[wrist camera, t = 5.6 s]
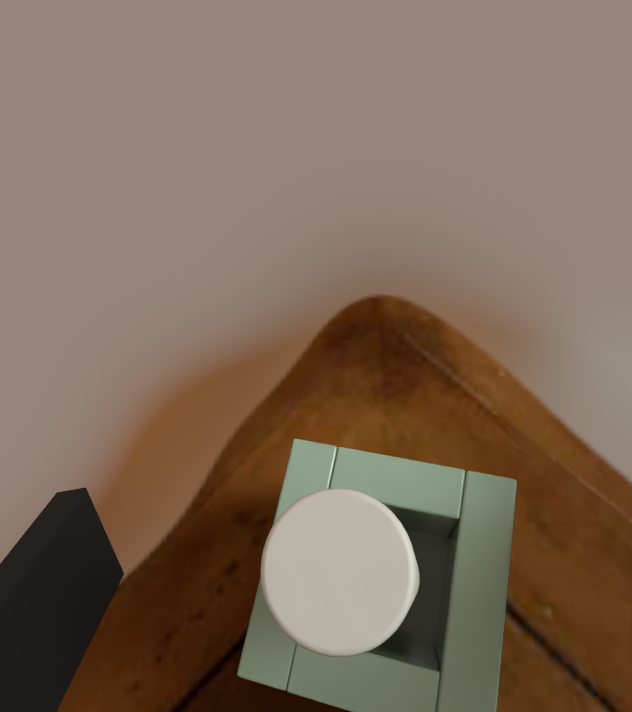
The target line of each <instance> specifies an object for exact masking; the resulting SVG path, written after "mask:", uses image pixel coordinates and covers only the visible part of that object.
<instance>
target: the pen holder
mask: <svg viewBox="0 0 632 712" xmlns="http://www.w3.org/2000/svg"><path fill="white" fill-rule="evenodd" d="M331 488H344V489H352V490H356V491H359V492H362V493H365V494H367V495H369V496H371V497H373V498H375V499H377V500H378V501H380V502H381V503H382V504H384V505H385V506H386V507H387V508H388V509H389V510H390V511H391V512H392V513H393V514H394V515H395V516H396V517H397V518H398V520H399V521H400V522H401V524H402V525H403V527H404V529H405V531H406V532H407V534H408V537H409V539H410V541H411V544H412V548H413V551H414V554H415V558H416V562H417V565H418V569H419V572H420V587H419V591H418V593H417V595H416V597H415V599H414V601H413V603H412V605H411V607H410V609H409V611H408V613H407V615H406V617H405V619H404V620H403V622H402V623H401V625H400V626H399V627H398V629H397V630H396V631H395V632H394V633H393V634H392V635H391V636H390V637H389V638H388V639H387V640H386V641H384V642H383V643H382V644H381V645H379V646H377V647H376V648H374V649H372V650H370V651H367V652H365V653H363V654H359V655H355V656H350V657H329V656H324V655H319V654H317V653H314V652H311V651H309V650H307V649H305V648H303V647H301V646H300V645H298V644H297V643H295V642H294V641H293V640H291V639H290V638H289V637H288V636H287V635H286V634H285V633H284V632H283V631H282V629H281V628H280V627H279V626H278V624H277V623H276V622H275V620H274V618H273V617H272V615H271V613H270V611H269V609H268V606H267V604H266V601H265V598H264V594H263V590H262V584H261V576H260V580H259V584H258V588H257V592H256V597H255V601H254V605H253V609H252V613H251V617H250V621H249V626H248V630H247V634H246V638H245V642H244V646H243V650H242V655H241V659H240V663H239V667H238V671H237V675H238V676H239V677H241V678H244V679H247V680H250V681H254V682H257V683H260V684H263V685H267V686H270V687H273V688H276V689H280V690H283V691H284V690H286V689H287V691H288V692H289V693H292V694H295V695H298V696H302V697H305V698H308V699H311V700H315V701H318V702H321V703H324V704H328V705H331V706H334V707H337V708H341V709H344V710H347V711H350V712H497V702H498V691H499V680H500V669H501V658H502V647H503V636H504V625H505V614H506V603H507V592H508V581H509V570H510V559H511V549H512V538H513V527H514V516H515V505H516V494H517V480H515V479H513V478H507V477H502V476H496V475H491V474H485V473H480V472H475V471H467V472H466V473H465V470H463V469H459V468H454V467H448V466H443V465H437V464H432V463H427V462H421V461H416V460H410V459H405V458H399V457H394V456H388V455H383V454H378V453H372V452H367V451H361V450H356V449H350V448H345V447H338V448H337V447H336V446H334V445H329V444H323V443H318V442H312V441H307V440H302V439H294V440H293V443H292V447H291V451H290V455H289V460H288V464H287V468H286V472H285V476H284V480H283V485H282V489H281V493H280V497H279V501H278V505H277V509H276V514H275V518H274V522H273V525H274V524H275V522H276V521H277V519H278V518H279V517H280V516H281V514H282V513H283V512H284V511H285V510H286V509H287V508H288V507H289V506H291V505H292V504H293V503H294V502H296V501H297V500H299V499H301V498H302V497H304V496H306V495H308V494H311V493H313V492H316V491H320V490H323V489H331ZM272 527H273V526H272Z"/></svg>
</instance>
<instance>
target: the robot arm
mask: <svg viewBox="0 0 632 712" xmlns="http://www.w3.org/2000/svg"><path fill="white" fill-rule="evenodd" d="M123 575H124V573H123V570H122V568H121V566H120V564H119V561H118V559H117V557H116V555H115V552H114V550H113V548H112V546H111V543H110V541H109V539H108V537H107V534H106V532H105V530H104V528H103V525H102V523H101V521H100V519H99V516H98V514H97V512H96V510H95V507H94V505H93V503H92V500H91V498H90V496H89V494H88V492H87V489H86V488H81V489H75V490H69V491H63V492H58V493H56V494H55V496H54V497H53V498H52V500H51V501H50V502H49V503H48V505H47V506H46V507H45V508H44V510H43V511H42V512H41V513H40V515H39V516H38V517H37V518H36V520H35V521H34V522H33V523H32V525H31V526H30V527H29V528H28V530H27V531H26V532H25V534H24V535H23V536H22V537H21V538H20V540H19V541H18V542H17V544H16V545H15V546H14V547H13V549H12V550H11V551H10V552H9V554H8V555H7V556H6V557H5V559H4V560H3V561H2V563H1V564H0V712H56V711H57V709H58V707H59V705H60V703H61V701H62V699H63V697H64V695H65V693H66V691H67V689H68V687H69V685H70V683H71V681H72V679H73V677H74V675H75V673H76V670H77V668H78V666H79V664H80V662H81V660H82V658H83V656H84V654H85V652H86V650H87V648H88V646H89V644H90V642H91V640H92V638H93V636H94V634H95V632H96V630H97V628H98V626H99V624H100V622H101V620H102V617H103V615H104V613H105V611H106V609H107V607H108V605H109V603H110V601H111V599H112V597H113V595H114V593H115V591H116V589H117V587H118V585H119V583H120V581H121V579H122V577H123Z"/></svg>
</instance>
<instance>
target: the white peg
mask: <svg viewBox="0 0 632 712" xmlns="http://www.w3.org/2000/svg"><path fill="white" fill-rule="evenodd" d="M261 584H262V590H263V594H264V598H265V601H266V604H267V606H268V609H269V611H270V613H271V615H272V617H273V618H274V620H275V622H276V623H277V624H278V626H279V627H280V628H281V629H282V631H283V632H284V633H285V634H286V635H287V636H288V637H289V638H290V639H291V640H293V641H294V642H295V643H297V644H298V645H300V646H301V647H303V648H305V649H307V650H309V651H311V652H314V653H317V654H319V655H324V656H329V657H350V656H355V655H359V654H363V653H365V652H367V651H370V650H372V649H374V648H376V647H377V646H379V645H381V644H382V643H383V642H384V641H386V640H387V639H388V638H389V637H390V636H391V635H392V634H393V633H394V632H395V631H396V630H397V629H398V627H399V626H400V625H401V623H402V622H403V620H404V619H405V617H406V615H407V613H408V611H409V609H410V607H411V605H412V603H413V601H414V599H415V597H416V595H417V593H418V591H419V587H420V572H419V569H418V565H417V562H416V558H415V554H414V551H413V548H412V544H411V541H410V539H409V537H408V534H407V532H406V531H405V529H404V527H403V525H402V524H401V522H400V521H399V520H398V518H397V517H396V516H395V515H394V514H393V513H392V512H391V511H390V510H389V509H388V508H387V507H386V506H385V505H384V504H382V503H381V502H380V501H378V500H377V499H375V498H373V497H371V496H369V495H367V494H365V493H362V492H359V491H356V490H352V489H344V488H331V489H323V490H320V491H316V492H313V493H311V494H308V495H306V496H304V497H302V498H301V499H299V500H297V501H296V502H294V503H293V504H292V505H291V506H289V507H288V508H287V509H286V510H285V511H284V512H283V513H282V514H281V516H280V517H279V518H278V519H277V521H276V522H275V524H274V525H273V527H272V529H271V531H270V533H269V535H268V537H267V540H266V543H265V546H264V549H263V554H262V559H261Z"/></svg>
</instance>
